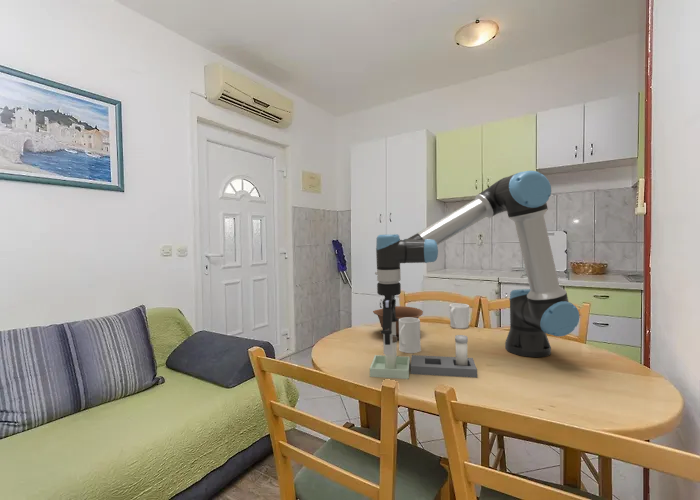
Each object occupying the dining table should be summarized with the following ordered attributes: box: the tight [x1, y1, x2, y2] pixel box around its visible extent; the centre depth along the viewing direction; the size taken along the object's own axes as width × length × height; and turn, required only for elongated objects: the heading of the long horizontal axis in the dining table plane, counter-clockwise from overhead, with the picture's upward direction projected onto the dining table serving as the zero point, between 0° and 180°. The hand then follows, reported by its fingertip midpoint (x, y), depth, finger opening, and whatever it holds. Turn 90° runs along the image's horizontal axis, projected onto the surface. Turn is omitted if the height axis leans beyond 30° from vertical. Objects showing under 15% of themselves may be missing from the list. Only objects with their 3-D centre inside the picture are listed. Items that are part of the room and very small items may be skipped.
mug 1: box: [398, 317, 422, 354], centre depth 131 cm, size 12×8×12 cm
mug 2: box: [448, 302, 470, 330], centre depth 162 cm, size 11×9×10 cm
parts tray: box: [369, 354, 411, 380], centre depth 112 cm, size 12×12×3 cm
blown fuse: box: [384, 335, 398, 369], centre depth 112 cm, size 4×4×11 cm
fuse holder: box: [410, 334, 478, 379], centre depth 111 cm, size 20×10×12 cm, turn 78°
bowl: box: [372, 305, 424, 339], centre depth 152 cm, size 22×22×11 cm
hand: (390, 347), depth 112 cm, fingers open, 13 cm apart
